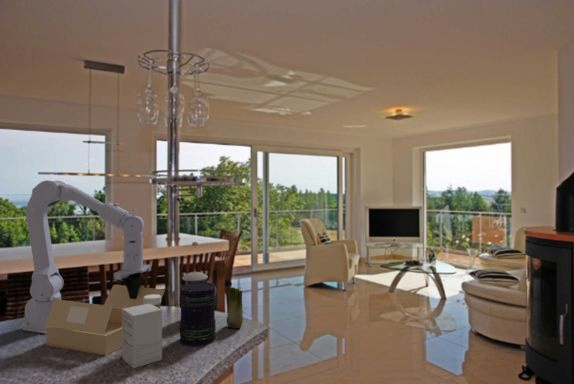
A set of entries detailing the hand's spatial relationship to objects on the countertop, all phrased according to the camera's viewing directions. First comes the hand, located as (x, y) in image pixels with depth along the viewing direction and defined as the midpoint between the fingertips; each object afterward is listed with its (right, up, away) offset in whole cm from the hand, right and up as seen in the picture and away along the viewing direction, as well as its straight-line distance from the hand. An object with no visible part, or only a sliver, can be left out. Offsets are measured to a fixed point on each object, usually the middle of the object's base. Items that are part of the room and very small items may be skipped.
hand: (133, 298), depth 128 cm
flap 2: (0, 0, 0) cm, 0 cm away
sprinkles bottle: (+12, -8, -18) cm, 23 cm away
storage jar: (+23, -8, -13) cm, 28 cm away
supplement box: (+12, -9, -27) cm, 30 cm away
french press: (+19, -8, +4) cm, 21 cm away
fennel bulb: (+32, -8, -3) cm, 33 cm away
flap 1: (-7, 0, -20) cm, 21 cm away
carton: (-4, -8, -12) cm, 15 cm away
